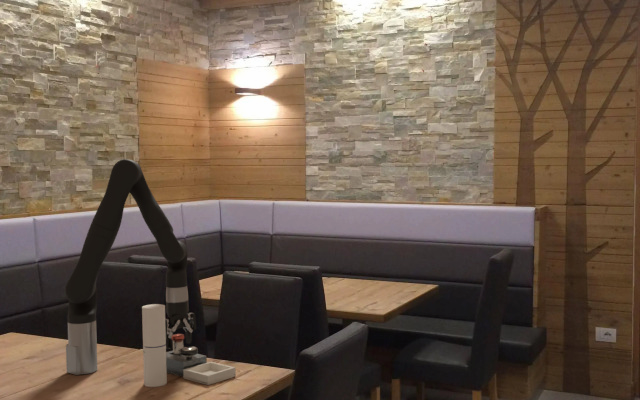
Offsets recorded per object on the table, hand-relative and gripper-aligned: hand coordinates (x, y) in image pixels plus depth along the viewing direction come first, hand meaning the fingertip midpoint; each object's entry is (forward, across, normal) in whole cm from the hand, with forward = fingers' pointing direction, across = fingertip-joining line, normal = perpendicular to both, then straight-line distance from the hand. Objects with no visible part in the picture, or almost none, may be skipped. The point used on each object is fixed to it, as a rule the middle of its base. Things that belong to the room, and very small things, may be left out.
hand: (178, 345), depth 254 cm
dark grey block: (+8, +2, +3) cm, 8 cm away
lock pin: (+8, 0, 0) cm, 8 cm away
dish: (+8, +2, +17) cm, 19 cm away
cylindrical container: (+8, +17, +8) cm, 20 cm away
